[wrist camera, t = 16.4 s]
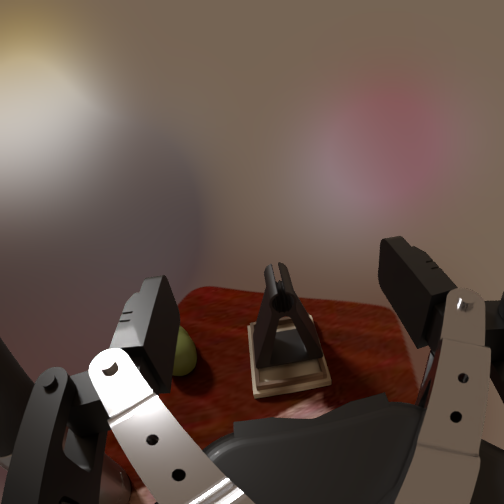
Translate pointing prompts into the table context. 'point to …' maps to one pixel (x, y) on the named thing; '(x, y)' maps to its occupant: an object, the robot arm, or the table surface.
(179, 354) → the pear
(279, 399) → the table surface
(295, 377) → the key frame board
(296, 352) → the phone stand
